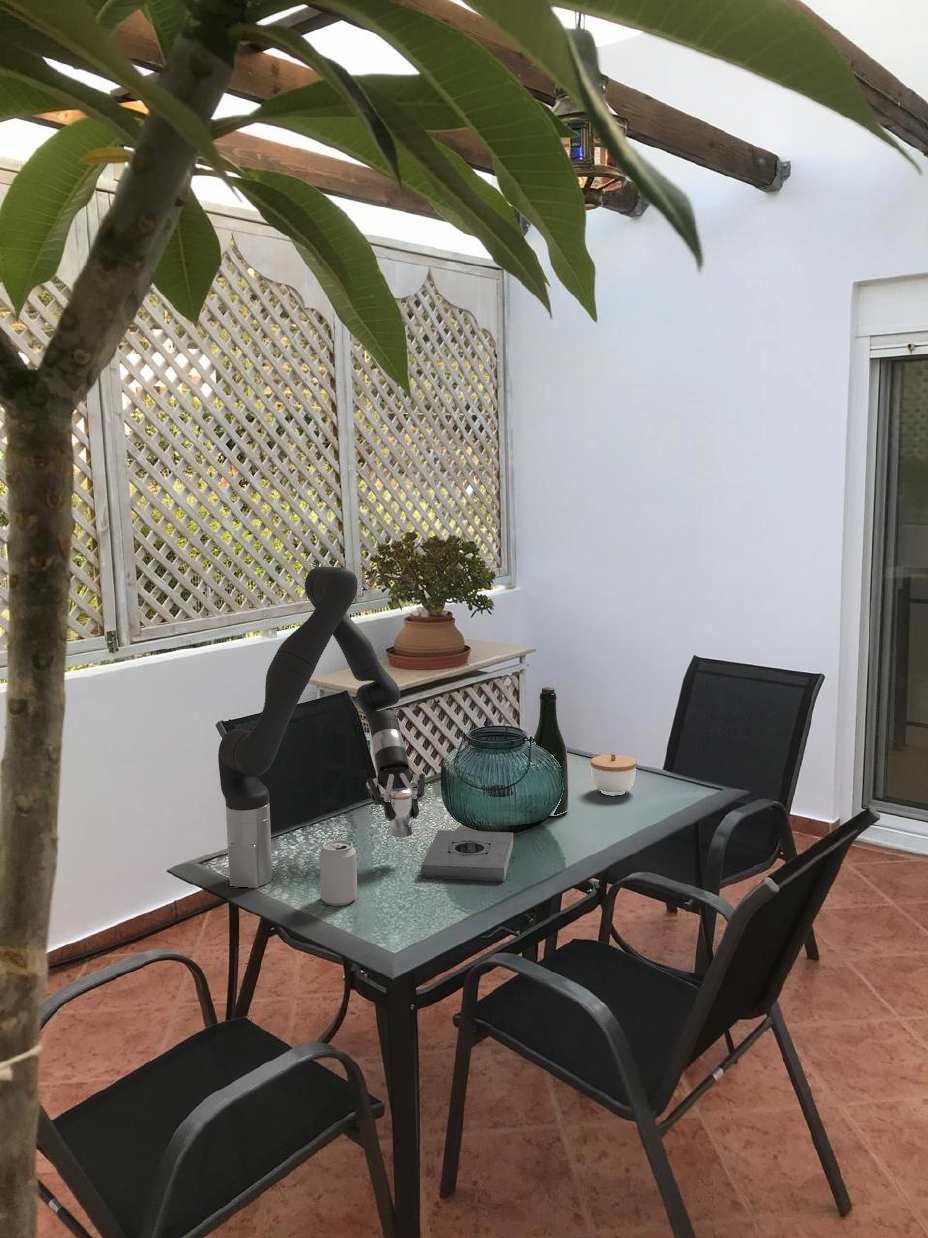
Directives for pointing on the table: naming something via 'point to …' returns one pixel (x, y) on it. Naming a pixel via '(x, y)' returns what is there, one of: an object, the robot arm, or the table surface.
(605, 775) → the lidded bowl
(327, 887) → the can
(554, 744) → the dark wine bottle
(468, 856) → the plate
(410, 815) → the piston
